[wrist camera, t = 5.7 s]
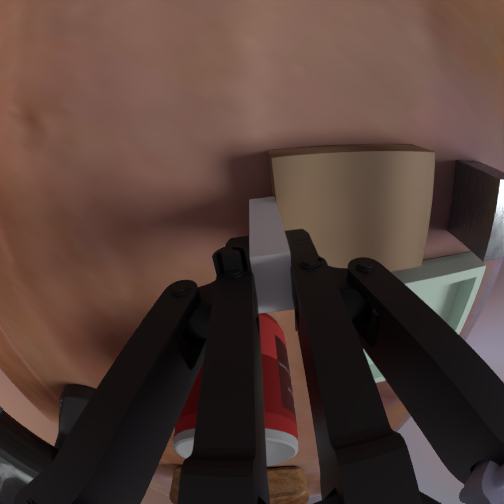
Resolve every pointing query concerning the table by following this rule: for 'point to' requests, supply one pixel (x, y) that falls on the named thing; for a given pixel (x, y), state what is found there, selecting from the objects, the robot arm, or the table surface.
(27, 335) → the table surface
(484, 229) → the bench dog
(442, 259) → the tray
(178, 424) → the canned food
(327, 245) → the tan block
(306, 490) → the bread
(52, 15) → the table surface
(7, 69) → the table surface
